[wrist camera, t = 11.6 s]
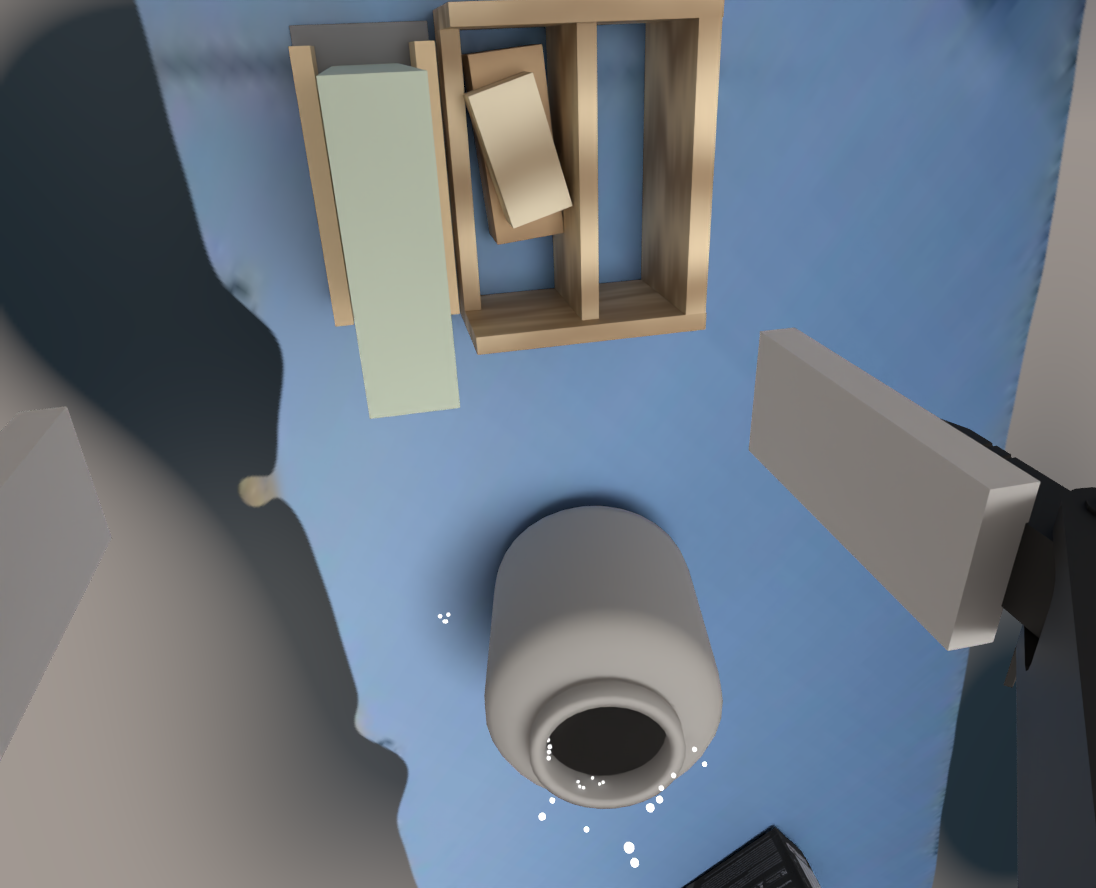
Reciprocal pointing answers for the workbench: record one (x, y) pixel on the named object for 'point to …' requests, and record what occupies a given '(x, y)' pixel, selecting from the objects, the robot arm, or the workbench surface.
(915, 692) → the workbench surface
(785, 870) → the graphics card box
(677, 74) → the rack
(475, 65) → the offcut low
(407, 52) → the holder
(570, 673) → the jar
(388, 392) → the pale green block
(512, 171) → the offcut top
